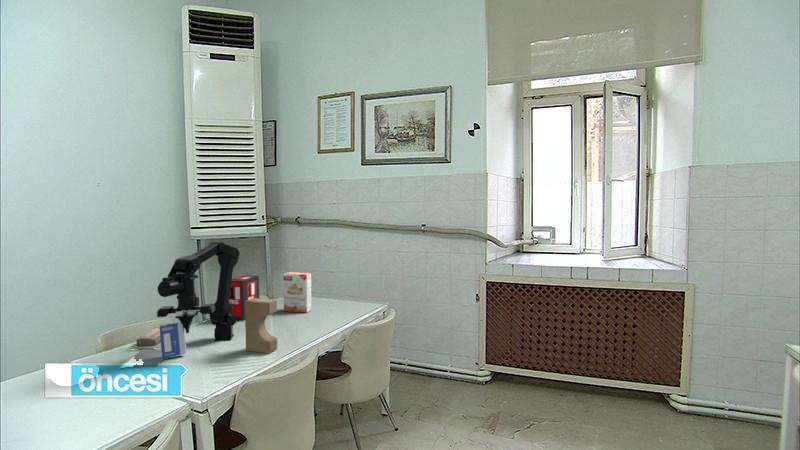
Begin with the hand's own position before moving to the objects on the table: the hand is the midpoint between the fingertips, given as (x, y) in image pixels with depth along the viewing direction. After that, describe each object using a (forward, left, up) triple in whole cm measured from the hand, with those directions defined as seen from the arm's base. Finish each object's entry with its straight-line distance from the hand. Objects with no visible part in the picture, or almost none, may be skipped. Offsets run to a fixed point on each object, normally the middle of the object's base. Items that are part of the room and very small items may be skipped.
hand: (187, 332), depth 151 cm
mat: (+14, 0, -9) cm, 16 cm away
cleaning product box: (-9, -56, -9) cm, 58 cm away
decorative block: (-26, -2, -9) cm, 28 cm away
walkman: (+5, 0, -8) cm, 10 cm away
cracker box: (-36, -62, -9) cm, 73 cm away
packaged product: (+20, -20, -10) cm, 30 cm away
